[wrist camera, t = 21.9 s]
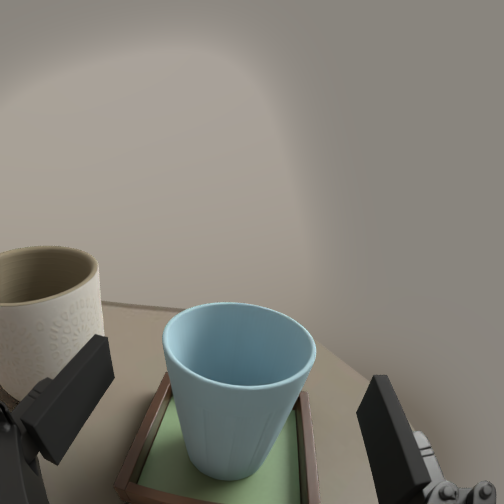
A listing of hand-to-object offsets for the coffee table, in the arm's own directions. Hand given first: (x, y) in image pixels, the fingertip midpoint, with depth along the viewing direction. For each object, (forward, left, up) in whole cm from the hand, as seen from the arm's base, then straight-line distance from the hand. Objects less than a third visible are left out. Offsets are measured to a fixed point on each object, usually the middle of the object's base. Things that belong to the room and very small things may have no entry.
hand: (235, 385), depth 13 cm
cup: (0, -2, -9) cm, 9 cm away
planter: (+17, -5, -10) cm, 20 cm away
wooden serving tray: (0, -2, -10) cm, 10 cm away
